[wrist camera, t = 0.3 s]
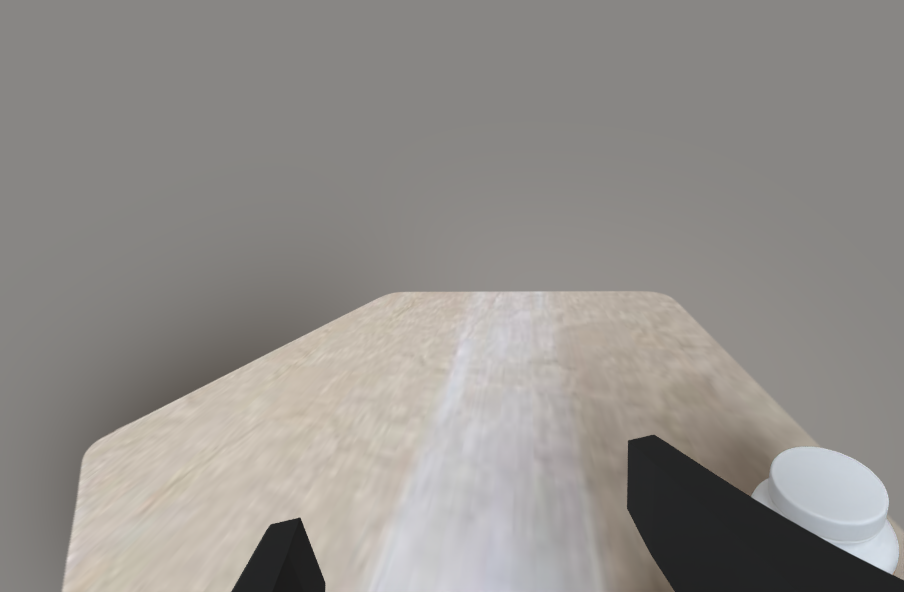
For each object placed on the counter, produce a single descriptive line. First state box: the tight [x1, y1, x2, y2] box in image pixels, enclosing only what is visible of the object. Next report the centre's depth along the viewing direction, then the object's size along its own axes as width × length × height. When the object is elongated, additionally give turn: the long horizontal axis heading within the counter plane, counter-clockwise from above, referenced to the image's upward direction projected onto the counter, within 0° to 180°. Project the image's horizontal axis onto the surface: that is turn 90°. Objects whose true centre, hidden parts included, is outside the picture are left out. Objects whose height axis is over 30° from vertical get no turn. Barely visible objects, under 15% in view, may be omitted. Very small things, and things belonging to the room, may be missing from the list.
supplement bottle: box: [751, 446, 899, 575], centre depth 22 cm, size 5×5×10 cm
